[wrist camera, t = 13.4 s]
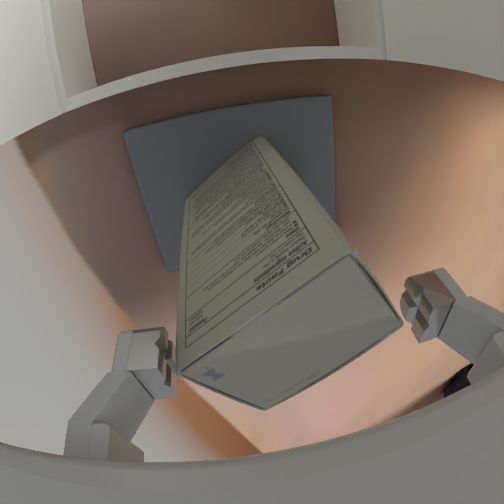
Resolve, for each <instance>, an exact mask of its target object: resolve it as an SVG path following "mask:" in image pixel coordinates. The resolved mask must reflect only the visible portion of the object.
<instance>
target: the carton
mask: <svg viewBox="0 0 504 504" xmlns="http://www.w3.org/2000/svg"><path fill="white" fill-rule="evenodd" d="M334 6H335V13H336V21H337V29H338V38H339V46H308V47H288V48H274V49H263V50H254V51H246V52H238V53H231V54H224V55H218V56H212V57H207V58H201V59H196V60H191V61H186V62H182V63H177V64H173V65H169V66H165V67H161V68H157V69H153V70H149V71H146V72H142V73H139V74H135V75H132V76H129V77H125V78H122V79H119V80H116V81H113V82H110V83H107V84H104V85H101V86H97V82H96V77H95V73H94V68H93V63H92V58H91V53H90V48H89V43H88V37H87V31H86V25H85V19H84V13H83V6H82V0H0V145H2V144H4V143H6V142H7V141H9V140H11V139H13V138H15V137H17V136H18V135H20V134H22V133H24V132H26V131H28V130H30V129H32V128H34V127H36V126H38V125H40V124H42V123H44V122H46V121H48V120H50V119H52V118H55V117H57V116H59V115H61V114H63V113H66V112H68V111H71V110H73V109H76V108H78V107H81V106H84V105H86V104H89V103H92V102H94V101H97V100H100V99H103V98H106V97H109V96H112V95H115V94H118V93H121V92H124V91H128V90H131V89H134V88H138V87H141V86H145V85H148V84H152V83H156V82H160V81H164V80H168V79H172V78H176V77H181V76H185V75H190V74H195V73H200V72H205V71H210V70H216V69H222V68H228V67H235V66H242V65H249V64H257V63H266V62H277V61H289V60H305V59H378V60H391V61H401V62H410V63H418V64H425V65H431V66H437V67H443V68H449V69H454V70H459V71H464V72H468V73H473V74H477V75H481V76H485V77H489V78H493V79H496V80H500V81H503V82H504V0H334Z"/></svg>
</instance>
